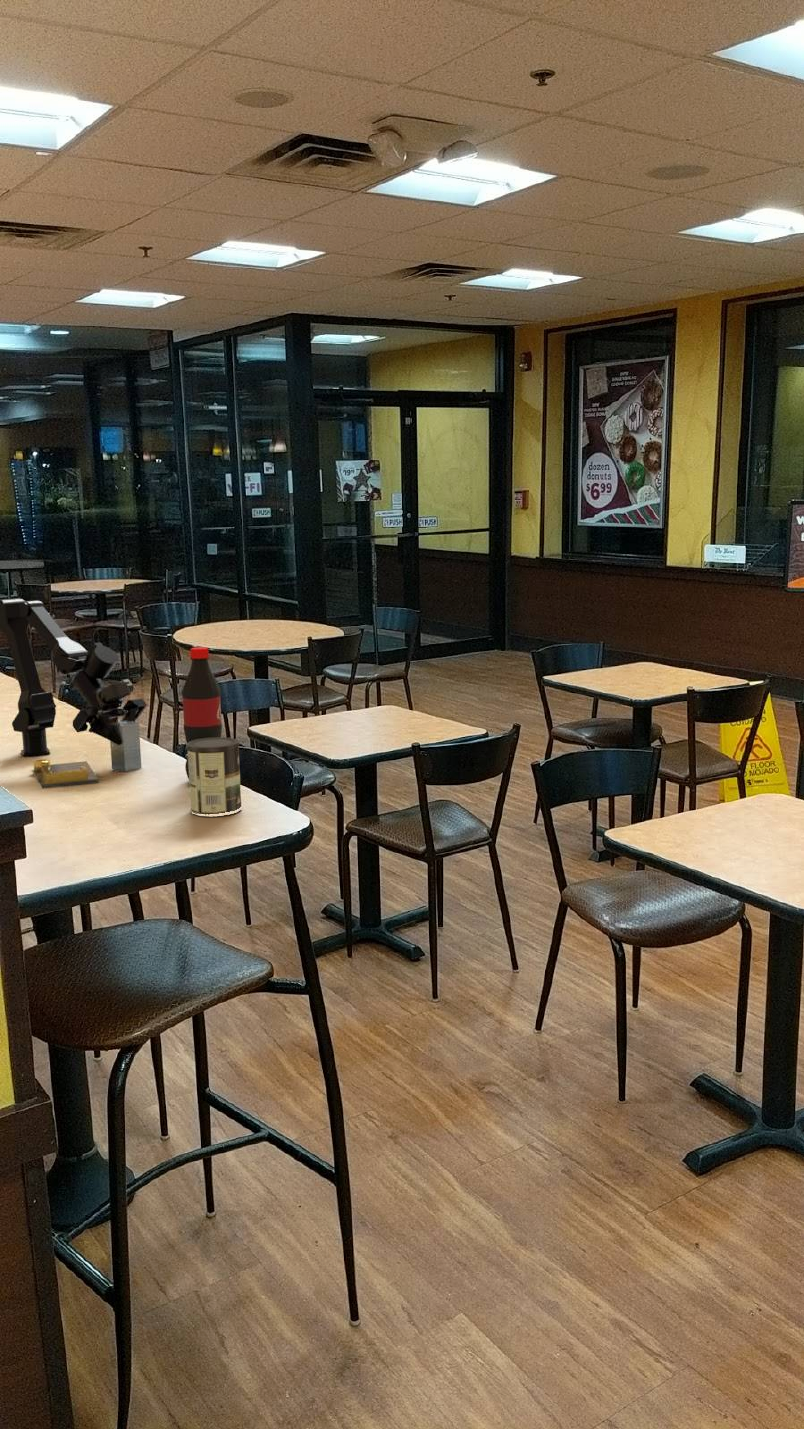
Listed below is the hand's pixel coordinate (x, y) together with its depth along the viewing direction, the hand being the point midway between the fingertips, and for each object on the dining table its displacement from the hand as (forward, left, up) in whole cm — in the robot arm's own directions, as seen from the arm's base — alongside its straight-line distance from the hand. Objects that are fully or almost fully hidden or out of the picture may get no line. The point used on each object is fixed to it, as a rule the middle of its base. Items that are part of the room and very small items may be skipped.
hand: (129, 741), depth 253 cm
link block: (-1, -1, -7) cm, 7 cm away
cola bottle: (+19, +13, -7) cm, 24 cm away
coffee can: (+45, +9, -7) cm, 46 cm away
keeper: (0, -15, -7) cm, 16 cm away
